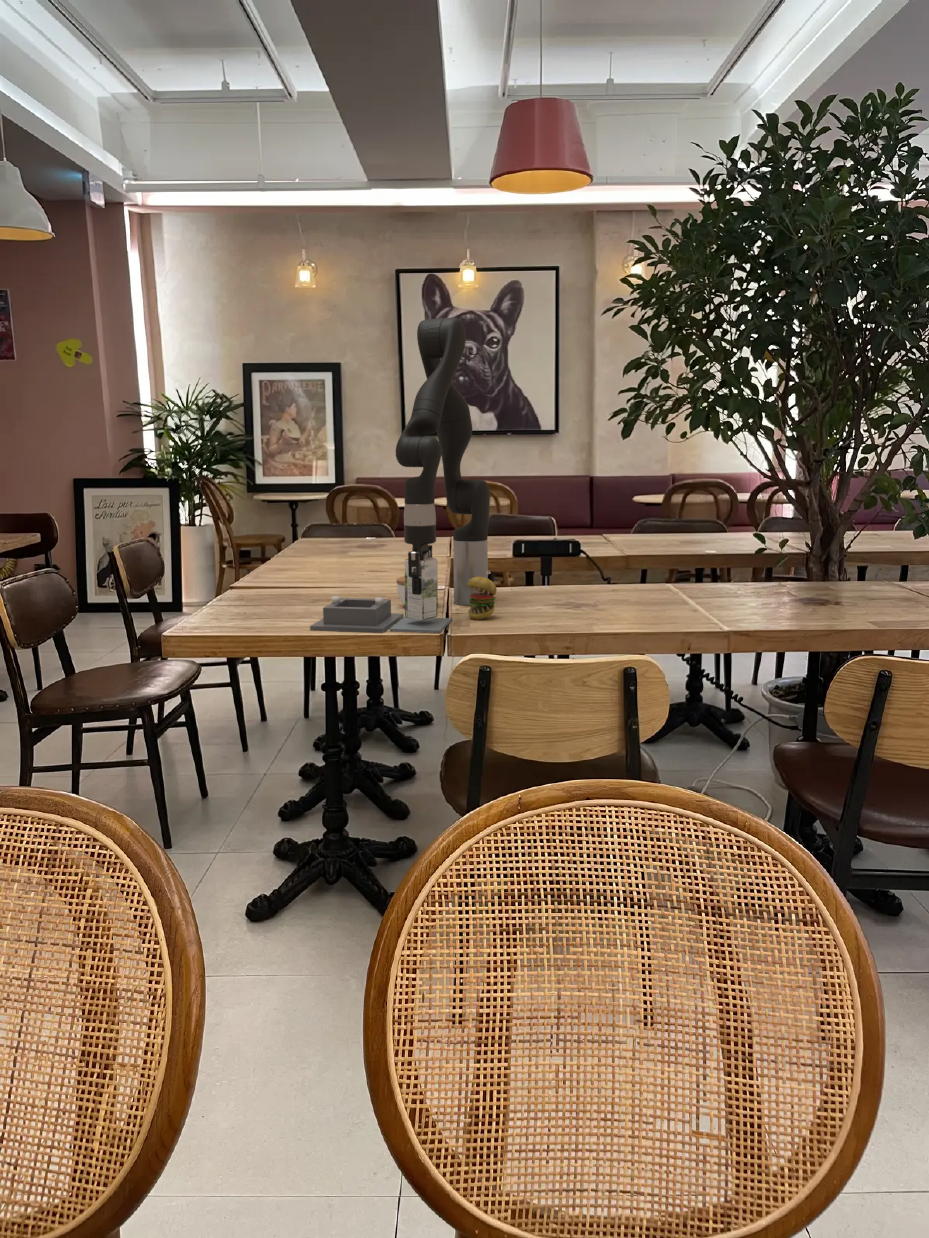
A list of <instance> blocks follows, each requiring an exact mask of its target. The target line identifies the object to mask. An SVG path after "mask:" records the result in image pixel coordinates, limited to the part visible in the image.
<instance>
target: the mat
mask: <svg viewBox="0 0 929 1238" xmlns="http://www.w3.org/2000/svg"><path fill="white" fill-rule="evenodd" d="M452 622H453V618H449V617H435V618H431V619H426V620H415V619H409V618H406V617H405V616H404V617H403V618H402V619H401V620H400V621H398V622H397V623H396V624H394V625H393V626H392V627H390V628H389V632H399V633H400V632H403V633H424V634H425V633H428V634H429V633H431V634H432V633H433V634H440V633H441V632H442V631H443V630H445V628H446V627H448V625H449V624H451V623H452Z"/></svg>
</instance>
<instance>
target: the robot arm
mask: <svg viewBox="0 0 929 1238" xmlns="http://www.w3.org/2000/svg"><path fill="white" fill-rule="evenodd" d="M416 338H417V340H416V341H417V346H418V350H419V354H420V359H421V362H422V365H423V369H424V372H425V377H426V380H425V381H424V382H423V384H422V385H421V386H420V388H419V389H418V391H417V393H416V395H415V398H414V401H413V406H412V411H411V415H410V418H409V420H408V422H407V424H406V425H405V427H404V429H403V431H402V433H401V435H400V437H399V438H398V440H397V442H396V447H395V457H396V461H397V463H398V464H399V465H401V467H405V468H422V471H421V474H420V475H418V476H415V477H410V478H407V479H406V480H405V481H404V488H403V489H404V490H403V491H404V507H403V508H404V510H403V533H404V534H403V536H404V538H403V539H404V542H405V544H408V545H412V548H411V549H412V551H408V553H407V556H408V557H407V559H408V570H409V574H408V575H409V577H411V579H412V593H413V594H414V595H420V594H421V593H422V569H423V570H424V569H425V560H427V558H430V557H432V558H433V545H432V544H435V543H436V541H437V514H436V506H435V487H436V485H435V484H436V478H437V474H438V469H439V466H440V463H441V462H440V461H442V470H443V479H444V488H445V489H444V490H445V498H446V503H447V506H448V509H449V512H451V513H452V514H456V515H457V514H458V515H471V516H470V521H469V522H468V523H466V524H465V525H463V526H460V527H456V528H455V529H454V530H453V533H452V535H453V536H452V541H453V543H452V544H453V545H452V547H453V555H452V556H453V603H454V604H456V605H461V606H473V605H472V604H469V602H470V599H469V597H471V594H474V593H482V592H479V591H476V590H474V591H473V589H472V590H471V591H470V588H469V587H468V586H467V583H468V581H469V580H470V579H471V578H473V577H484V578H487V579H489V577H488V576H489V574H487V570H488V571H489V569H488V566H489V565H488V561H489V560H488V552H489V551H488V547H489V545H488V534H489V528H490V527H489V526H490V506H491V505H490V504H491V503H490V502H491V496H490V495H491V493H490V492H491V491H490V487H489V485H488V482H487V481H486V480H484V479H465V478H464V479H463V478H462V475H461V474H462V472H461V462H462V459H463V456H464V454H465V452H466V450H467V448H468V446H469V443H470V441H471V438H472V435H473V423H472V416H471V411H470V407H469V404H468V402H467V401H466V400H467V399H465V398H464V396H463V395H462V394H461V393H460V391H459V390H458V389H457V387H456V386H455V385H454V384H453V383H452V382H453V380H454V377H455V375H456V373H457V370H458V368H459V364H460V362H461V361H462V357H463V354H464V351H465V348H466V341H467V333H466V328H465V325H464V323H463V321H462V320H461V319H460V318H457V317H440V318H439V317H438V318H431V319H430V318H427V319H423V320H421V321H419V323H418V326H417V331H416ZM435 433H436V435H437V438H436V437H435V436H428V435H432V434H435ZM422 560H423V561H424V563H423V565H422V567H421V566H420V561H422ZM415 570H417V572H414V571H415ZM486 574H487V575H486Z"/></svg>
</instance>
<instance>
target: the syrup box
mask: <svg viewBox="0 0 929 1238" xmlns="http://www.w3.org/2000/svg"><path fill="white" fill-rule="evenodd" d="M423 563H424V561H423V560H422V561H420V566H421V567H422V565H423ZM438 563H439V562H438V558H435V557H433V556H432V557H430V558H427V560H425V569H424V570H423V569H422V593H421V594H420V595H414V594H413V593H412V579H411V577H409V575H408V574H409V570H408V558H406V559H404V576H405V605H404V617H406V618H409V619H415V620H426V619H431V618H438V617H439V616H438V611H439V609H438V604H439V603H438V602H439V601H438V600H439V599H438V596H439V595H438V589H439V587H438V585H439V584H438V582H439V581H438V580H439V579H438V578H439V577H438V575H439V573H438V572H439V570H438V568H439V567H438ZM414 572H417V570H415V571H414Z"/></svg>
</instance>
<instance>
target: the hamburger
mask: <svg viewBox="0 0 929 1238" xmlns="http://www.w3.org/2000/svg"><path fill="white" fill-rule="evenodd" d="M491 573H492V572H491V571H490V570H489V569H488V570H487V574H488V575H490V574H491ZM487 574H486V575H487ZM467 586H468V587H469V588H470V591H471V590H472V589H473V591H474V590H476V591H479V592H482V593H474V594H471V597H469V599H470V602H469V604H472V605H470V608H469V609H468V611H467V614H468V616H469V617H470V618H471V619H473V620H477V621H478V620H479V621H480V620H483V619H487V618H489V617H490V616H491V615H492V614H493V613H494V612H495V608H496V607H495V606H496V605H495V604H496V602H495V599H496V596H494V595H496V594H497V592H498V591H497V590H498V589H497V586H496V584H495V583H494V582H493V581H492V580H490V579H489V578H488V579H487V578H484V577H473V578H471V579H470V580H469V581H468V583H467Z"/></svg>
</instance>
